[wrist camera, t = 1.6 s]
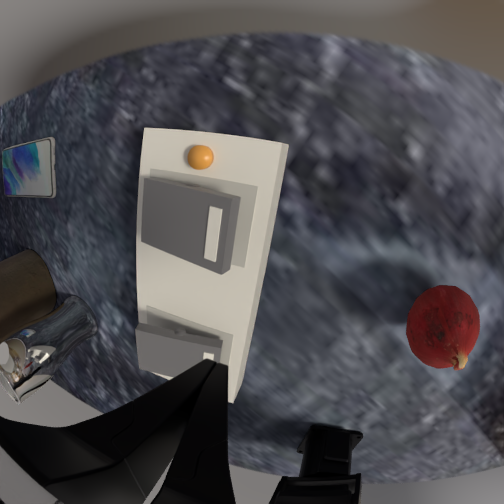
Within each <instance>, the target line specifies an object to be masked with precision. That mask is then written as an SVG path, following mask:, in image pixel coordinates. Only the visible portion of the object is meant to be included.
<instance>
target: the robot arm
mask: <svg viewBox="0 0 504 504" xmlns="http://www.w3.org/2000/svg"><path fill="white" fill-rule="evenodd" d="M228 373H229V367H228V365H226V364H223V363H220V362H218V363H217V362H216V361H214V360H211V359H208V358H206V359H204V360H202V361H201V362H199V363H197V364H196V365H194V366H192V367H191V368H189V369H187V370H186V371H184V372H182V373H180V374H179V375H177V376H175V377H174V378H172V379H170V380H168V381H167V382H165V383H163V384H161V385H160V386H158V387H156V388H154V389H153V390H151V391H149V392H147V393H145V394H144V395H142V396H140V397H138V398H136V399H134V400H133V401H131V402H129V403H127V404H125V405H123V406H121V407H119V408H117V409H115V410H113V411H110V412H108V413H105V414H103V415H100V416H97V417H95V418H92V419H89V420H86V421H83V422H80V423H77V424H75V425H71V426H67V427H47V426H40V425H33V424H27V423H21V422H16V421H12V420H8V419H5V418H3V417H1V416H0V504H143V503H144V501H145V500H146V499H145V498H147V496H148V495H149V494H150V492H151V491H152V489H153V488H154V486H155V485H156V483H157V481H158V480H159V479H160V477H161V475H162V474H163V472H164V471H165V469H166V468H167V466H168V465H169V463H170V462H171V460H172V459H173V460H172V463H171V465H170V468H169V470H168V472H167V475H166V479H165V480H164V483H163V485H162V487H161V489H160V491H159V492H158V494H157V495H156V497H155V498H154V499H153V501H152V502H151V504H236V502H235V497H234V493H233V487H232V482H231V477H230V470H229V463H228V441H227V440H228ZM362 438H363V433H359V432H352V431H345V430H339V429H333V428H328V427H322V426H317V425H313V426H311V427H310V429H309V430H308V432H307V434H306V435H305V437H304V439H303V440H302V442H301V444H300V445H299V447H298V448H297V452H298V453H301V454H303V459H302V464H301V469H300V474H299V477H288V476H282V478H281V481H280V482H279V483H278V485H277V488H276V490H275V492H274V494H273V496H272V498H271V500H270V502H269V504H360V503H361V488H362V484H361V473H357V474H354V475H350V472H351V458H352V450H353V449H354V448H355V446H356V445H357V444H358V443H359V442H360V441H361V439H362Z"/></svg>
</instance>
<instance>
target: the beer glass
mask: <svg viewBox="0 0 504 504" xmlns="http://www.w3.org/2000/svg"><path fill="white" fill-rule="evenodd" d="M97 330H98V326H97V321H96V318H95V316H94V314H93V312H92V311H91V309H90V308H89V306H88V305H87V304H86V303H85V302H84V301H83V300H82V299H80V298H79V297H76V296H69V297H68V298H67V299H66V300H65V301H64V302H63V303H62V304H61V305H60V306H59V307H58V308H56V309H55V310H54V311H52V312H51V313H49V314H47V315H45V316H42V317H40V318H37V319H35V320H32V321H30V322H28V323H25V324H23V325H21V326H19V327H17V328H15V329H14V330H12V331H10V332H9V333H7V334H6V335H5V336H3V337H2V338H1V339H0V385H1V387H2V388H3V389H4V390H5V392H6V393H7V394H8V395H9V396H10V397H11V398H12V400H14V401H15V402H16V403H17V404H19V405H20V404H21V403H22V402H23V401H25V400H26V399H27V398H29V397H30V396H31V395H33V394H34V393H35V392H37V391H38V390H39V389H40V388H41V387H43V386H44V385H45V384H46V382H48V381H49V380H50V379H51V378H52V376H53V375H54V374H55V373H56V372H57V370H58V369H59V368H60V366H61V365H62V364H63V362H64V361H65V360H66V358H67V357H68V356H69V355H70V353H71V352H72V351H73V350H74V349H75V348H76V347H77V346H78V345H80V344H81V343H83V342H85V341H87V340H89V339H90V338H92V337H94V336H95V335H96V334H97Z"/></svg>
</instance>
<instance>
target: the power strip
mask: <svg viewBox="0 0 504 504" xmlns="http://www.w3.org/2000/svg"><path fill="white" fill-rule="evenodd" d="M288 147H289V145H288V144H284V143H280V142H274V141H268V140H262V139H256V138H249V137H242V136H235V135H227V134H218V133H209V132H199V131H188V130H176V129H160V128H144V135H143V143H142V153H141V163H140V174H139V188H138V205H137V236H136V269H137V300H138V318H139V322H140V323H144V324H148V325H152V326H157V327H161V328H165V329H170V330H175V329H176V328H183V329H185V330H186V333H188V334H193V335H198V336H203V337H208V338H214V339H219V340H223V344H222V352H221V359H220V363H223V364H226V365H228V367H229V373H228V402H230V403H233V402H234V400H235V398H236V396H237V393H238V391H239V389H240V386H241V384H242V380H243V376H244V371H245V366H246V362H247V357H248V352H249V347H250V343H251V338H252V333H253V328H254V323H255V319H256V314H257V309H258V304H259V299H260V294H261V289H262V284H263V279H264V274H265V269H266V264H267V259H268V254H269V249H270V243H271V238H272V233H273V228H274V223H275V217H276V212H277V207H278V201H279V196H280V191H281V185H282V180H283V174H284V169H285V163H286V158H287V152H288ZM150 177H157V178H162V179H166V180H171V181H176V182H180V183H185V184H196V185H200V186H201V187H202V188H206V189H211V190H215V191H219V192H223V193H227V194H231V195H235V196H239V197H241V200H240V206H239V213H238V220H237V226H236V233H235V240H234V247H233V253H232V260H231V267H230V270H229V271H227V272H226V273H224V274H222V275H220V274H218V273H215V272H213V271H210V270H208V269H205V268H203V267H200V266H198V265H196V264H193V263H191V262H188V261H186V260H183V259H181V258H179V257H176V256H174V255H171V254H169V253H167V252H164V251H162V250H159V249H157V248H155V247H152V246H150V245H148V244H145V243H143V242H141V226H142V204H143V188H144V178H150ZM152 373H153V372H152ZM154 374H157V373H154ZM157 375H159V376H161V377H164V378H166V379H168V380H170V379H172V378H174V377H169V376H165V375H161V374H157Z"/></svg>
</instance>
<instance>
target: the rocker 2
mask: <svg viewBox="0 0 504 504" xmlns="http://www.w3.org/2000/svg"><path fill="white" fill-rule="evenodd" d="M135 334H136V344H137V353H138V361H139V369H142V370H146V371H150V372H153V373H157V374H161V375H165V376H169V377H175V376H177V375H179V374H180V373H182V372H184V371H186V370H187V369H189V368H191V367H192V366H194V365H196V364H197V363H199V362H201V361H202V360H204V359H206V358H208V359H211V360H214V361H216V362H217V363H218V362H220V359H221V352H222V344H223V340H219V339H214V338H208V337H203V336H198V335H193V334H188V333H186V330H185V329H183V328H176V329H175V330H170V329H165V328H161V327H157V326H152V325H148V324H144V323H140V322H139V324H138V326H137V327H136V329H135Z"/></svg>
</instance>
